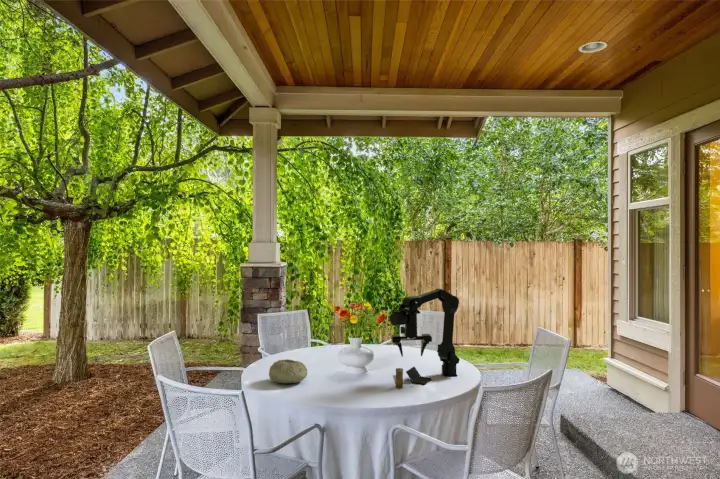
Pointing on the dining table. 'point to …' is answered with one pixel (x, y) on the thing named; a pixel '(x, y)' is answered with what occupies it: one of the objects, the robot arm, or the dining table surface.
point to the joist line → (395, 380)
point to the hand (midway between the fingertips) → (411, 356)
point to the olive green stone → (287, 371)
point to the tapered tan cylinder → (399, 377)
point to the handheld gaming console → (417, 377)
